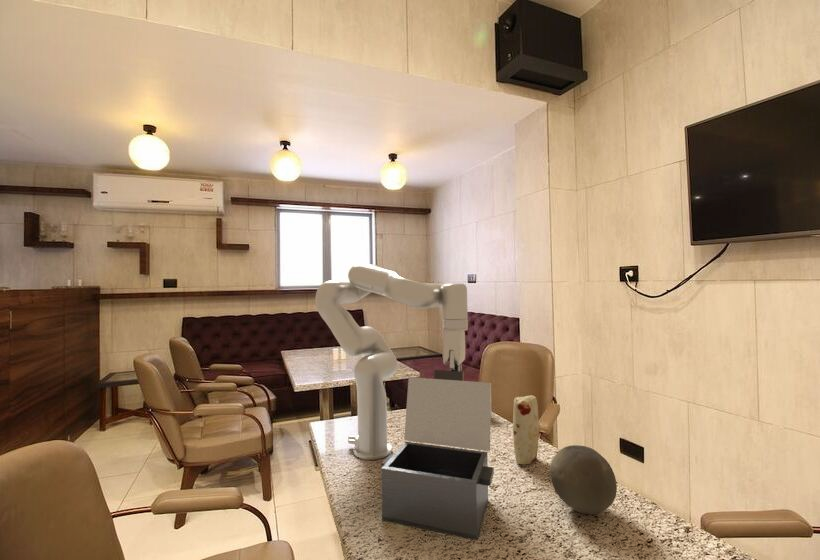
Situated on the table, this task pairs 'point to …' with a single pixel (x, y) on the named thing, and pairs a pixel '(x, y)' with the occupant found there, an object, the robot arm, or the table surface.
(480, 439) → the lid
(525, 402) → the food model
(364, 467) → the table surface
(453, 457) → the grey lidded box
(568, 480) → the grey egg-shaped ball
